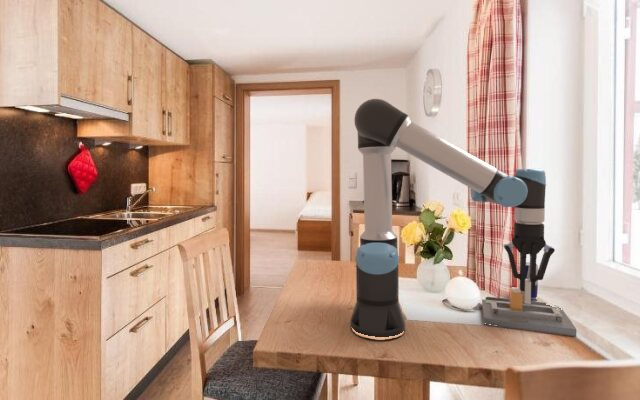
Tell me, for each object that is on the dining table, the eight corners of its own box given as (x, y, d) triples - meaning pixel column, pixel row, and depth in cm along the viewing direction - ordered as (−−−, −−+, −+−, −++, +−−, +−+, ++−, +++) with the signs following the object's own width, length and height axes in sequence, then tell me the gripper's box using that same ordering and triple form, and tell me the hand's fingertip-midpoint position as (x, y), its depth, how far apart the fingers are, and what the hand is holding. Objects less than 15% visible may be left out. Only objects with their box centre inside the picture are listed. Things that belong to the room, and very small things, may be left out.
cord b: (552, 308, 113) (553, 304, 113) (485, 301, 120) (485, 297, 120) (551, 307, 114) (552, 302, 114) (485, 300, 122) (485, 296, 122)
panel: (576, 336, 94) (576, 323, 94) (484, 324, 102) (484, 312, 102) (561, 314, 109) (561, 302, 108) (481, 305, 117) (482, 294, 117)
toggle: (522, 313, 104) (522, 291, 103) (510, 312, 105) (511, 289, 104) (520, 309, 107) (521, 287, 107) (509, 308, 108) (509, 286, 108)
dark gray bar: (562, 312, 110) (562, 307, 110) (485, 304, 118) (485, 299, 118) (561, 310, 111) (561, 305, 111) (485, 302, 119) (485, 297, 119)
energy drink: (517, 298, 122) (518, 264, 121) (521, 294, 126) (522, 261, 125) (535, 302, 119) (536, 267, 118) (539, 298, 122) (540, 263, 122)
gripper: (552, 221, 104) (549, 300, 106) (502, 219, 109) (500, 295, 111) (558, 225, 97) (555, 309, 99) (505, 223, 102) (503, 303, 104)
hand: (526, 302), depth 105 cm, fingers closed
